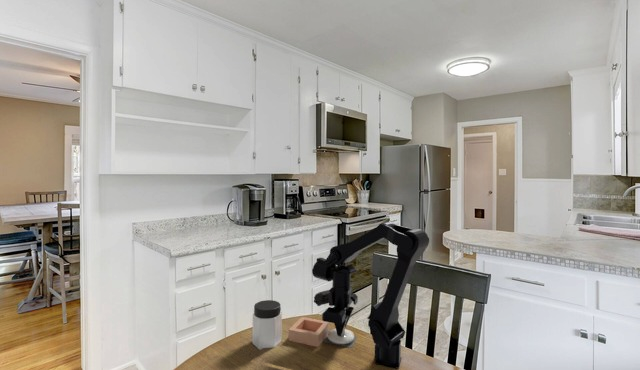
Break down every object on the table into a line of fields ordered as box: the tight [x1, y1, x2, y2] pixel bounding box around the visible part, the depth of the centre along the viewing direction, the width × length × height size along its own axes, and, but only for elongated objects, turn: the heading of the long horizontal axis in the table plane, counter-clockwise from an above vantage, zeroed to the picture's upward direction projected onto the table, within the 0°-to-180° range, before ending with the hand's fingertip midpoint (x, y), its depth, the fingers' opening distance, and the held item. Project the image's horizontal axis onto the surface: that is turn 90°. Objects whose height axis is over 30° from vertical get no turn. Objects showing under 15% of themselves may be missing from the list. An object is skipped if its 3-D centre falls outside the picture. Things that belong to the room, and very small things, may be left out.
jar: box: [251, 299, 283, 351], centre depth 99 cm, size 9×8×12 cm
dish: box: [288, 316, 330, 348], centre depth 103 cm, size 10×10×4 cm
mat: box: [323, 335, 358, 348], centre depth 101 cm, size 9×7×1 cm
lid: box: [327, 327, 355, 344], centre depth 101 cm, size 8×8×5 cm
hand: (340, 333), depth 101 cm, fingers closed on lid, 3 cm apart
